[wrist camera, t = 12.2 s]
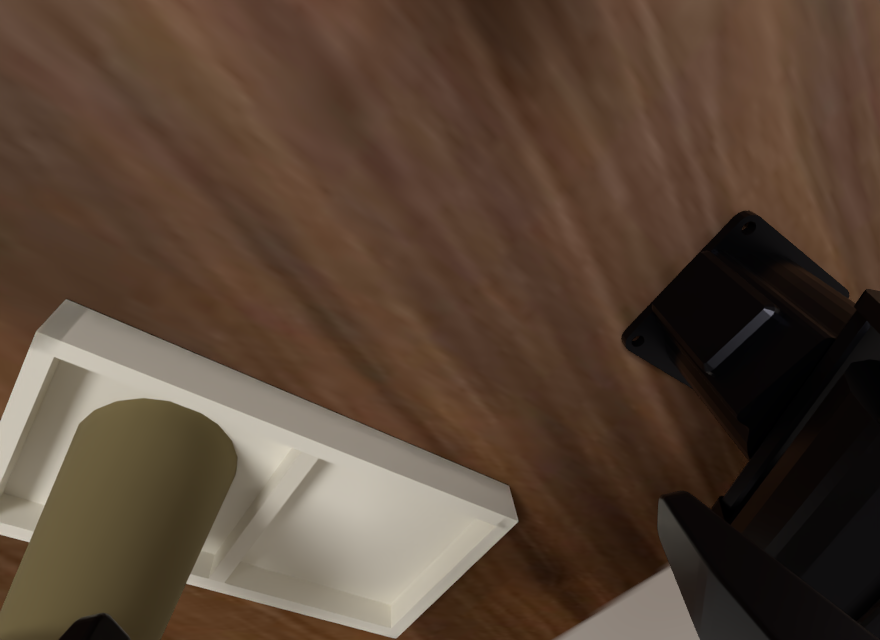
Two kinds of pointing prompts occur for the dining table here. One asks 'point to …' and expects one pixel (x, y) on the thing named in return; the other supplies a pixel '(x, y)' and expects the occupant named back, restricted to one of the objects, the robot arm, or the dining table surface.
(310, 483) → the tray
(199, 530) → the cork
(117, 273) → the dining table surface
